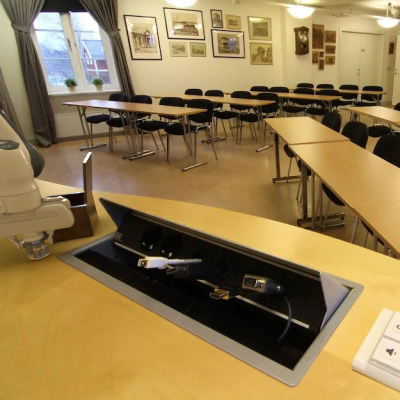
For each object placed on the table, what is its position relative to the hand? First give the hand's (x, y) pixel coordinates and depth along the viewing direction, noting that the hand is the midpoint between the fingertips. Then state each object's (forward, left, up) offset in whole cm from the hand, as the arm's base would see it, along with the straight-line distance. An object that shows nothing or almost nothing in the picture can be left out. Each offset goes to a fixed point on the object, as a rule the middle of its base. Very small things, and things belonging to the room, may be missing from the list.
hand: (35, 245), depth 91 cm
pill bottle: (0, 0, -4) cm, 4 cm away
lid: (+13, +16, +14) cm, 25 cm away
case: (+6, +16, -4) cm, 17 cm away
